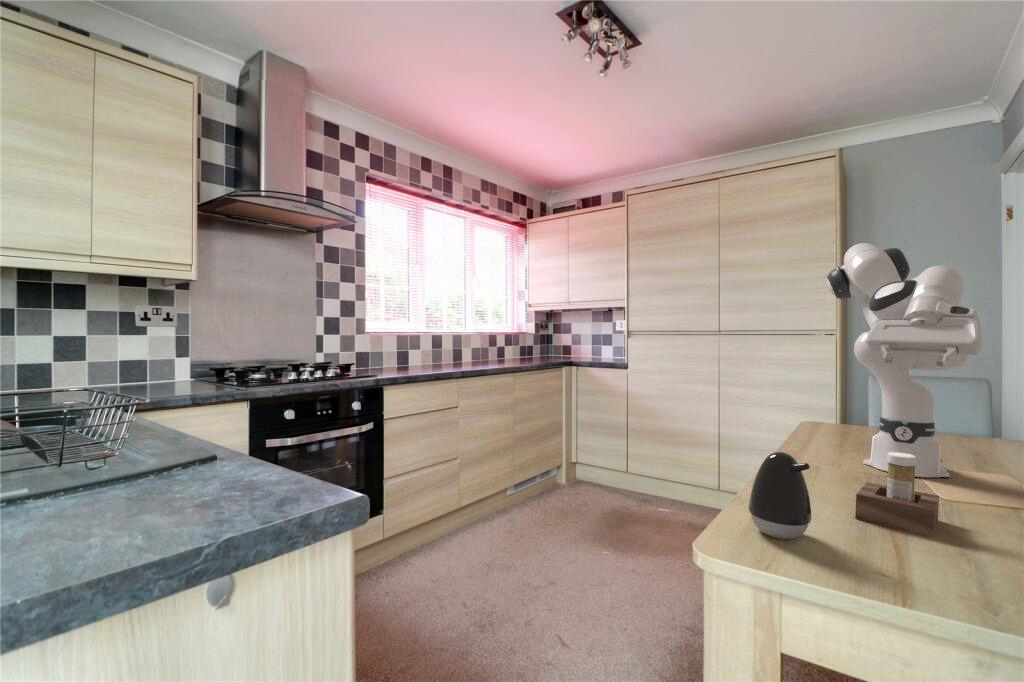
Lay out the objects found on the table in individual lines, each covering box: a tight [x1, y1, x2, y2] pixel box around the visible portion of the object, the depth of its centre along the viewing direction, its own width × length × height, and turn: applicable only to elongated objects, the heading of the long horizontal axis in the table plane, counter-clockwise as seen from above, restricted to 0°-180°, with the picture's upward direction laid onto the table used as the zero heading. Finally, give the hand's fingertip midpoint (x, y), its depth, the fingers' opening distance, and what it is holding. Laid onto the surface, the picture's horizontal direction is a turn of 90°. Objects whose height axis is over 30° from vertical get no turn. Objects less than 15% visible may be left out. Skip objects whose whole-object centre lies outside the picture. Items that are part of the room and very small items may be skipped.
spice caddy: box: [854, 481, 940, 538], centre depth 100 cm, size 12×12×5 cm
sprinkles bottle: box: [886, 452, 916, 503], centre depth 100 cm, size 5×5×13 cm
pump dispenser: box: [748, 451, 812, 540], centre depth 91 cm, size 10×10×15 cm
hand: (912, 363), depth 108 cm, fingers open, 8 cm apart
